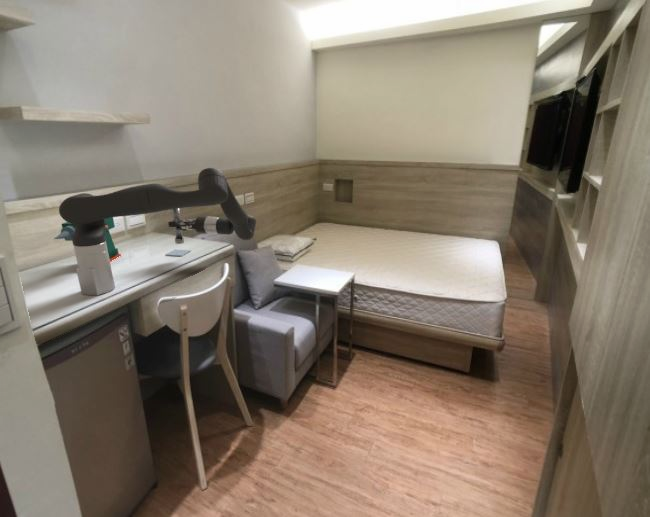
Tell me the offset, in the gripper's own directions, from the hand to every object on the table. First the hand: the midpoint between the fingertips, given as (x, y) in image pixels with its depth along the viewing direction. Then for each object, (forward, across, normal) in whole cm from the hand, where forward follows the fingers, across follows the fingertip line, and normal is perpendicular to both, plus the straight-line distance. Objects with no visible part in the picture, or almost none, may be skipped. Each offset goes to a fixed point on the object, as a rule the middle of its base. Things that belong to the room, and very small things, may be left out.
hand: (171, 223), depth 149 cm
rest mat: (+3, -7, +16) cm, 18 cm away
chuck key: (-3, 0, +8) cm, 9 cm away
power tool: (+27, +17, +17) cm, 36 cm away
